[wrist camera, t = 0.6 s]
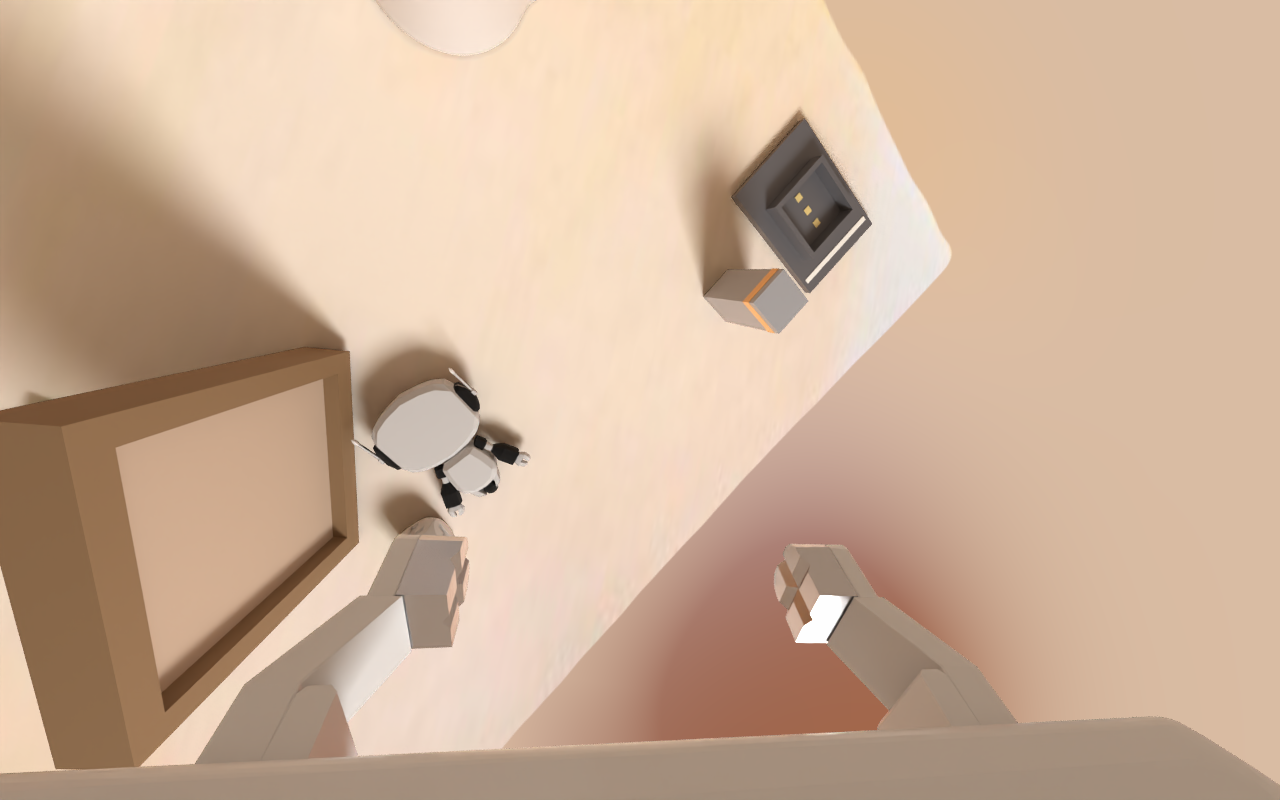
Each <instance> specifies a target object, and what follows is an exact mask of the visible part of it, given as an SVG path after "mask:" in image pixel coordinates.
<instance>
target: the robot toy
mask: <svg viewBox="0 0 1280 800" xmlns="http://www.w3.org/2000/svg"><path fill="white" fill-rule="evenodd" d="M449 371H450V372H451V373H452V374H453V375H455V376H456V377H457V378H458V379H459V380H460V381H461V382H462V383H463V384H464V385H463V384H461V383H460V382H456V383H453V382H450V381H448V380H446V379H433V380H429V381H426V382H423V383H421V384H418V385H416V386H414V387H412V388H410V389H408V390H406V391H405V392H403V393H401V394H399V395H398V396H397V397H396V398H395V399H394V400H393V401H392V402H391V403H390V404H389V405H388V406H387V407H386V408H385V410H384V411H383V413H382V414H381V415H380V417H379V419H378V420H377V422H376V424H375V426H374V428H373V432H372V439H373V441H374V443H375V445H374V447H373V449H374V451H375V453H376V454H375V453H373V452H372V451H370V450H369V449H367V448H366V447H364V446H363V445H361V444H360V443H359V442H358V441H356V440H351V441H352V443H353V444H354V445H356V446H358V447H360V448H361V449H363V450H365V451H366V452H368V453H369V454H371V455H372V456H374V457H375V458H377V459H378V461H379V462H380V463H382V464H384V463H386V464H387V465H388V466H391V467H393V468H395V469H397V470H399V469H403V470H406V471H410V472H420V471H425V470H428V469H431V468H433V467H435V468H434V470H435V472H436V475H437V478H439V479H442V482H443V485H442V489H441V495H442V498H443V501H444V503H445V506H446V509H447V508H448V513H449V514H450V515H451V516H452V517H456V516H457V514H456V512H455V511H457V510H458V512H459V515H462V514H463V513H464V511H465V509H464V506H463V505H462V504H461V502H462V498H461V495H460V492H463V493H470V494H473V495H475V496H478V497H481V496H485V495H487V492H488V493H493V492H495V491H496V490H497V488H498V484H499V482H500V474H499V470H498V467H497V460H496V458H497V459H498V460H500V461H503V462H506V463H509V464H511V465H513V463H514V462H515V463H516V464H517V465H518V466H526V465H527V461H524V460H522V459H525V460H528V461H529V460H530V455H529V454H527V453H526V452H519V449H518V448H516V447H513V446H511V445H508V444H506V443H498V444H490V443H488V442H487V440H486V438H484V437H481V436H479V435H477V436H476V437H475V439H472V438H473V436H474V435H475V433H476V431H477V429H478V426H479V422H480V415H479V412H478V410H479V409H480V404H479V401H478V398H477V396H476V394H477V391H476V390H475V389H474V388H471V387H470V386H469V385H468V384H467V383H466V382H465V381H464V380H463V379H461V378H460V377H459V376H458V375H457V374H456V373H455V371H454V370H453V369H452V368H449ZM442 463H443V464H442ZM459 491H460V492H459Z"/></svg>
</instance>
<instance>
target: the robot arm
mask: <svg viewBox="0 0 1280 800" xmlns="http://www.w3.org/2000/svg"><path fill="white" fill-rule="evenodd" d="M534 1H536V0H376V2H377V3H378V5H379V6H380V7H381V9H382V10H383V11H384V13H385V14H386V15H387V16H388V17H389V18H390V19H391V20H392V21H393V22H394V23H395V24H396V25H397V26H398V27H399V28H400V29H401V30H402V31H403V32H405V33H406V34H407V35H409V36H410V37H411V38H413V39H414V40H416V41H418V42H419V43H421V44H423V45H425V46H427V47H429V48H431V49H434V50H437V51H440V52H443V53H447V54H453V55H475V54H480V53H483V52H486V51H489V50H491V49H493V48H495V47H497V46H498V45H500V44H501V43H502V42H504V41H505V40H506V39H507V38H508V37H509V36H510V35H511V34H512V33H513V31H514V30H515V29H516V27H517V25H518V24H519V22H520V20H521V18H522V16H523V14H524V13H525V11H526V9H527V8H528V6H529V5H530V4H531V3H533V2H534ZM467 550H468V541H467V538H466V537H454V536H433V535H405V534H399V535H398V536H397V537H396V538H395V539H394V540H393V542H392V544H391V546H390V548H389V550H388V553H387V555H386V557H385V559H384V561H383V563H382V565H381V567H380V569H379V572H378V574H377V576H376V578H375V580H374V582H373V584H372V586H371V588H370V591H369V593H368V595H367V596H359V597H358V598H356V599H355V600H354V601H352V602H351V603H350V604H348V605H347V606H346V607H345V608H343V609H342V610H341V611H339V612H338V613H337V614H335V615H334V616H333V617H332V618H330V619H329V620H328V621H326V622H325V623H324V624H322V625H321V626H320V627H319V628H317V629H316V630H315V631H313V632H312V633H311V634H309V635H308V636H307V637H306V638H304V639H303V640H302V641H300V642H299V643H298V644H296V645H295V646H294V647H293V648H291V649H290V650H289V651H287V652H286V653H285V654H283V655H282V656H281V657H279V658H278V659H277V660H276V661H274V662H273V663H272V664H270V665H269V666H268V667H266V668H265V669H264V670H263V671H261V672H260V673H259V674H257V675H256V676H255V677H253V678H252V679H251V680H250V681H248V682H247V683H246V684H244V686H243V687H242V689H241V691H240V692H239V694H238V695H237V697H236V699H235V700H234V702H233V703H232V705H231V707H230V708H229V710H228V712H227V713H226V715H225V716H224V718H223V720H222V721H221V723H220V724H219V726H218V728H217V729H216V731H215V732H214V734H213V736H212V737H211V739H210V740H209V742H208V744H207V745H206V747H205V748H204V750H203V752H202V753H201V755H200V756H199V758H198V760H197V761H196V763H195V764H189V765H168V766H148V767H127V768H107V769H86V770H65V771H45V772H24V773H3V774H0V800H1280V785H1279V784H1277V783H1276V782H1274V781H1273V780H1271V779H1270V778H1268V777H1267V776H1265V775H1264V774H1263V773H1261V772H1260V771H1258V770H1257V769H1255V768H1253V767H1252V766H1250V765H1249V764H1247V763H1246V762H1244V761H1243V760H1241V759H1239V758H1238V757H1236V756H1235V755H1233V754H1232V753H1230V752H1228V751H1226V750H1225V749H1224V748H1222V747H1220V746H1219V745H1217V744H1216V743H1214V742H1213V741H1211V740H1209V739H1208V738H1206V737H1205V736H1203V735H1201V734H1199V733H1198V732H1196V731H1194V730H1192V729H1191V728H1189V727H1187V726H1185V725H1183V724H1181V723H1180V722H1178V721H1175V720H1172V719H1169V718H1164V717H1132V718H1112V719H1094V720H1093V719H1092V720H1072V721H1052V722H1032V723H1018V722H1017V721H1016V719H1015V718H1014V717H1013V716H1012V714H1011V713H1010V711H1009V710H1008V709H1007V707H1006V706H1005V704H1004V703H1003V702H1002V700H1001V699H1000V698H999V696H998V695H997V694H996V692H995V691H994V689H993V688H992V687H991V685H990V684H989V683H988V681H987V680H986V678H985V677H984V676H983V674H982V673H981V672H980V670H979V669H978V667H977V666H975V665H974V664H973V663H971V662H970V661H969V660H967V659H966V658H965V657H963V656H962V655H960V654H959V653H958V652H956V651H955V650H954V649H952V648H951V647H950V646H948V645H947V644H946V643H944V642H943V641H941V640H940V639H939V638H937V637H936V636H935V635H933V634H932V633H931V632H929V631H928V630H927V629H925V628H924V627H923V626H921V625H920V624H919V623H917V622H916V621H915V620H913V619H912V618H911V617H909V616H908V615H907V614H905V613H904V612H902V611H901V610H900V609H898V608H897V607H896V606H894V605H893V604H892V603H890V602H889V601H887V600H886V599H885V598H883V597H878V596H877V595H876V593H875V591H874V590H873V589H872V587H871V585H870V584H869V582H868V580H867V579H866V577H865V576H864V574H863V572H862V571H861V569H860V568H859V566H858V565H857V563H856V561H855V560H854V558H853V557H852V555H851V553H850V552H849V551H848V549H847V548H846V547H845V546H843V545H822V544H789V545H788V546H787V547H785V550H784V552H783V556H784V558H785V560H784V561H783V562H781V563H780V564H779V565H778V566H777V568H776V571H775V574H774V587H775V592H776V595H777V598H778V600H779V602H780V603H781V604H782V605H783V606H784V607H785V608H786V609H788V611H787V615H786V620H787V622H788V624H789V627H790V629H791V632H792V634H793V636H794V639H795V641H796V642H825V643H827V645H828V646H829V647H830V648H831V649H832V651H833V652H834V653H835V654H836V655H837V656H838V657H839V658H840V659H841V660H842V661H843V662H844V663H845V664H846V665H847V666H848V667H849V669H850V670H851V671H852V672H853V673H854V674H855V675H856V676H857V677H858V678H859V679H860V680H861V681H862V682H863V683H864V684H865V686H867V688H868V689H869V690H870V691H871V692H872V693H873V694H874V695H875V696H876V697H877V698H878V699H879V700H880V701H881V702H882V704H884V706H886V708H887V709H888V710H889V712H888V713H887V714H886V715H885V717H884V718H883V719H882V720H881V722H880V723H879V725H878V728H877V729H878V730H874V731H854V732H833V733H814V734H792V735H772V736H751V737H731V738H712V739H711V738H710V739H691V740H690V739H689V740H670V741H651V742H650V741H649V742H632V743H631V742H630V743H610V744H590V745H571V746H551V747H530V748H511V749H510V748H509V749H489V750H469V751H449V752H429V753H409V754H389V755H369V756H358V753H357V750H356V747H355V744H354V741H353V738H352V735H351V732H350V729H349V726H348V723H347V722H348V721H349V720H350V719H351V718H352V717H353V716H354V715H355V714H356V712H357V711H358V710H359V709H360V708H361V707H362V706H363V705H364V704H365V702H366V701H367V700H368V699H369V698H370V697H371V696H372V695H373V694H374V692H375V691H376V690H377V689H378V688H379V687H380V686H381V685H382V684H383V682H384V681H385V680H386V679H387V678H388V677H389V676H390V675H391V674H392V672H393V671H394V670H395V669H396V668H397V667H398V666H399V665H400V664H401V662H402V661H403V660H404V659H405V658H406V657H407V656H408V655H409V654H410V652H411V651H412V650H411V649H415V648H439V647H452V645H453V642H454V638H455V634H456V630H457V626H458V623H459V606H460V605H461V604H462V603H463V602H464V600H465V595H466V591H467V586H468V579H469V560H468V559H467V558H465V557H466V554H467Z"/></svg>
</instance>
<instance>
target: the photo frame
mask: <svg viewBox="0 0 1280 800" xmlns="http://www.w3.org/2000/svg"><path fill="white" fill-rule="evenodd" d="M351 440H354V433H353V412H352V392H351V372H350V351H340V350H330V349H319V348H309V347H302V348H297V349H292V350H288V351H283V352H278V353H273V354H268V355H264V356H259V357H254V358H249V359H244V360H240V361H235V362H230V363H225V364H221V365H216V366H211V367H206V368H201V369H197V370H192V371H187V372H182V373H177V374H173V375H168V376H163V377H158V378H153V379H149V380H144V381H139V382H134V383H129V384H125V385H120V386H115V387H110V388H106V389H101V390H96V391H91V392H86V393H82V394H77V395H72V396H67V397H62V398H58V399H53V400H48V401H43V402H38V403H34V404H29V405H24V406H19V407H14V408H10V409H5V410H0V566H1V570H2V573H3V577H4V581H5V584H6V588H7V592H8V595H9V599H10V603H11V607H12V610H13V614H14V618H15V621H16V625H17V629H18V632H19V636H20V640H21V643H22V647H23V651H24V654H25V658H26V662H27V665H28V669H29V673H30V676H31V680H32V684H33V687H34V691H35V695H36V699H37V702H38V706H39V710H40V713H41V717H42V721H43V724H44V728H45V732H46V735H47V739H48V743H49V746H50V750H51V754H52V757H53V761H54V765H55V768H56V769H78V770H86V769H107V768H127V767H139V766H140V765H141V764H142V763H143V762H144V761H145V760H146V759H147V758H148V757H149V756H150V755H151V754H152V753H153V752H154V751H155V750H156V749H157V748H158V747H159V746H160V745H161V744H162V743H163V742H164V741H165V740H166V739H167V738H168V737H169V736H170V735H171V734H172V733H173V732H174V731H175V730H176V729H177V728H178V727H179V726H180V725H181V724H182V723H183V722H184V721H185V719H186V718H187V717H188V716H189V715H190V714H191V713H192V712H193V711H194V710H195V709H196V708H197V707H198V706H199V705H200V704H201V703H202V702H203V701H204V700H205V699H206V698H207V697H208V696H209V695H210V694H211V693H212V692H213V691H214V690H215V689H216V688H217V687H218V686H219V685H220V684H221V683H222V682H223V681H224V680H225V679H226V678H227V677H228V676H229V675H230V674H231V673H232V671H233V670H234V669H235V668H236V667H237V666H238V665H239V664H240V663H241V662H242V661H243V660H244V659H245V658H246V657H247V656H248V655H249V654H250V653H251V652H252V651H253V650H254V649H255V648H256V647H257V646H258V645H259V644H260V643H261V642H262V641H263V640H264V639H265V638H266V637H267V636H268V635H269V634H270V633H271V632H272V631H273V630H274V629H275V628H276V627H277V626H278V625H279V623H280V622H281V621H282V620H283V619H284V618H285V617H286V616H287V615H288V614H289V613H290V612H291V611H292V610H293V609H294V608H295V607H296V606H297V605H298V604H299V603H300V602H301V601H302V600H303V599H304V598H305V597H306V596H307V595H308V594H309V593H310V592H311V591H312V590H313V589H314V588H315V587H316V586H317V585H318V584H319V583H320V582H321V581H322V580H323V579H324V578H325V577H326V575H327V574H328V573H329V572H330V571H331V570H332V569H333V568H334V567H335V566H336V565H337V564H338V563H339V562H340V561H341V560H342V559H343V558H344V557H345V556H346V555H347V554H348V553H349V552H350V551H351V550H352V549H353V548H354V547H355V546H356V545H357V544H358V543H359V534H358V514H357V493H356V473H355V453H354V444H353V443H352V441H351Z"/></svg>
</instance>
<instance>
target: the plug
mask: <svg viewBox="0 0 1280 800" xmlns="http://www.w3.org/2000/svg"><path fill="white" fill-rule="evenodd" d="M703 297H704V298H705V299H706V300H707V301H708V302H709V304H710V305H711V306H712V307H713V308H714V309H715V310H716V311H717V312H718V314H719V315H720V316H721V317H722V318H723V319H724V320H725V321H726V322H730V323H735V324H739V325H743V326H748V327H752V328H757V329H761V330H765V331H768V332H771V333H778V334H779V333H780V332H781V331H782V330H783V329H784V328H785V327H786V325H787V324H788V323H789V322H790V321H791V320H792V319H793V318H794V317H795V315H796V314H797V313H798V312H799V311H800V310H801V309H802V308H803V307H804V305H805V304H806V303H807V302H808V300H807V298H806V297H805V296H804V295H803V293H802V292H801V291H800V289H799V288H798V287H797V286H796V284H795V283H794V282H793V281H792V279H791V278H790V277H789V275H788V274H787V273H786V272H785V270H784V269H728V270H727V271H726V272H725V273H724V274H723V275H722V276H721V278H720V279H719V280H718V281H717V282H716V283H715V284H714V285H713V286H712V288H711V289H710V290H709V291H708V292H707V293H706V294H705V295H704V296H703Z"/></svg>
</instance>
